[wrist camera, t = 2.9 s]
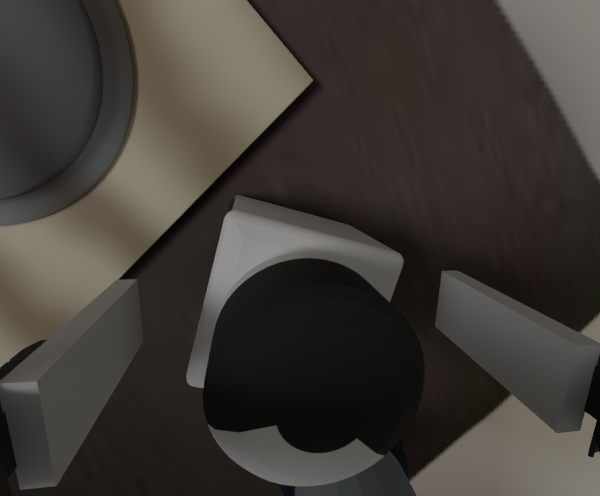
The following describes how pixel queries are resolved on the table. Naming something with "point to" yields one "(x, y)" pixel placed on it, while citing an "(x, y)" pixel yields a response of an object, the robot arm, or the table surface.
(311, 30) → the table surface
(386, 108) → the table surface
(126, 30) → the square wooden board
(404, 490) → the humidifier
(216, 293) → the medicine bottle
